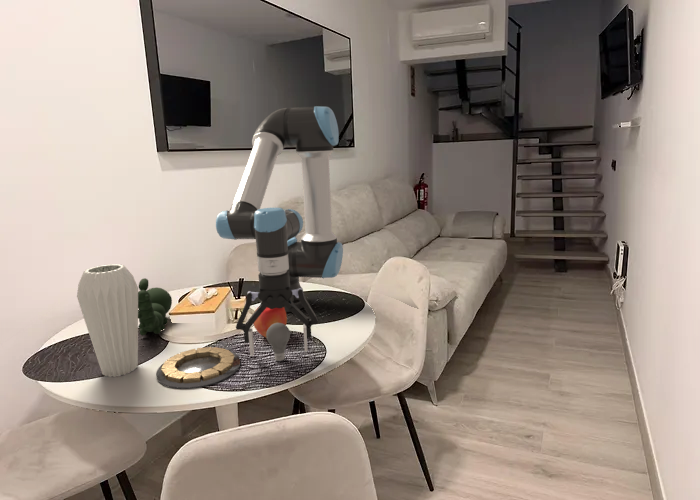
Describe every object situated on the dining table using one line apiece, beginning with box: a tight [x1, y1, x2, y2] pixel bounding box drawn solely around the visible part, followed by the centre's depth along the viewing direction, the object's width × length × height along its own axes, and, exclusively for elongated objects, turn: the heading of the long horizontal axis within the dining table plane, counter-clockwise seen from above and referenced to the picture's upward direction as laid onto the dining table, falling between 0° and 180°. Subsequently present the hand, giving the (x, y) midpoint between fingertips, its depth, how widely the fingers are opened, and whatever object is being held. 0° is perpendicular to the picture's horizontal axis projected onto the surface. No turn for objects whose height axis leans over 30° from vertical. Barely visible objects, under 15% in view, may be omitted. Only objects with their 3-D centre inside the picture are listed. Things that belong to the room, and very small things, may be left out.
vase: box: [76, 263, 139, 378], centre depth 117 cm, size 13×13×26 cm
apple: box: [253, 307, 288, 339], centre depth 136 cm, size 10×10×10 cm
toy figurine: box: [138, 277, 173, 336], centre depth 145 cm, size 9×19×25 cm
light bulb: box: [265, 323, 291, 362], centre depth 121 cm, size 6×6×10 cm
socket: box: [155, 346, 241, 390], centre depth 118 cm, size 20×20×2 cm
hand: (279, 351), depth 121 cm, fingers open, 13 cm apart
